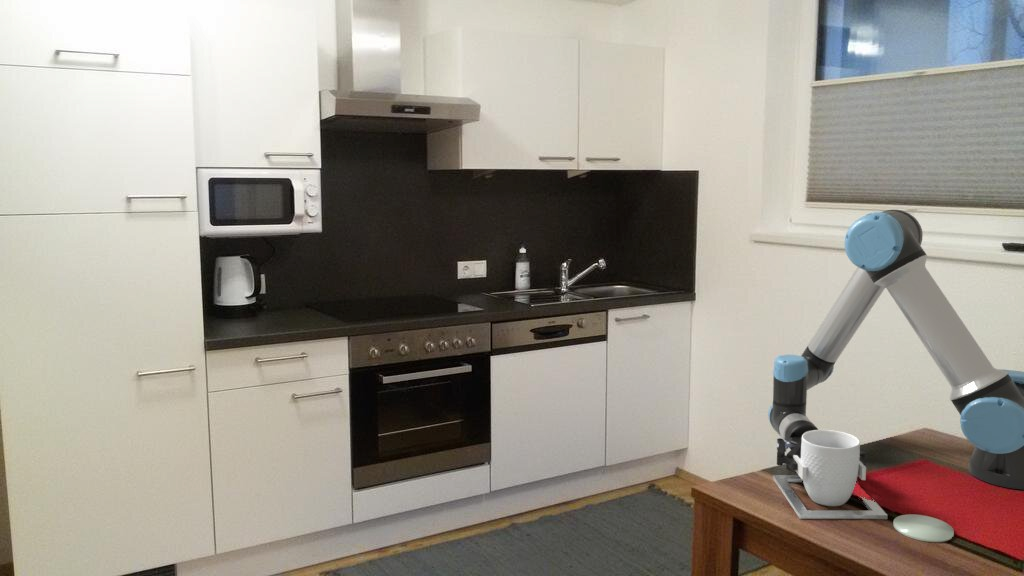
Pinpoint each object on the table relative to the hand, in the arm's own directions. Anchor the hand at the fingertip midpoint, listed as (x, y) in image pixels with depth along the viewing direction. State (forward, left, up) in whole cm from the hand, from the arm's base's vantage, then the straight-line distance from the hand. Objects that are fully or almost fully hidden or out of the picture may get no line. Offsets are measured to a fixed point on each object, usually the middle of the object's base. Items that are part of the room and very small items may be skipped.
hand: (834, 473), depth 156 cm
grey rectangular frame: (0, -4, -7) cm, 8 cm away
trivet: (-13, +10, -7) cm, 18 cm away
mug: (0, -4, -7) cm, 8 cm away
